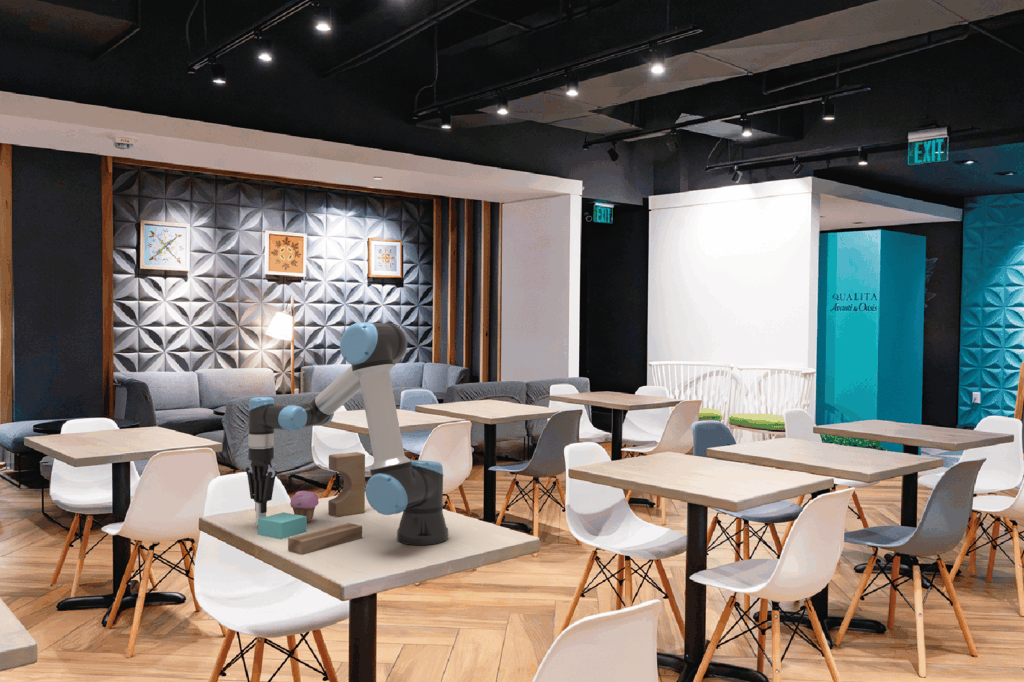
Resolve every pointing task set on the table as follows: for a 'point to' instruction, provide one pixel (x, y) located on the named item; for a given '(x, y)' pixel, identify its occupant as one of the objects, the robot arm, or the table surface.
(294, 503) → the cupcake
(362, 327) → the robot arm
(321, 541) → the walnut board
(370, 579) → the table surface
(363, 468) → the decorative block
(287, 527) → the teal block
